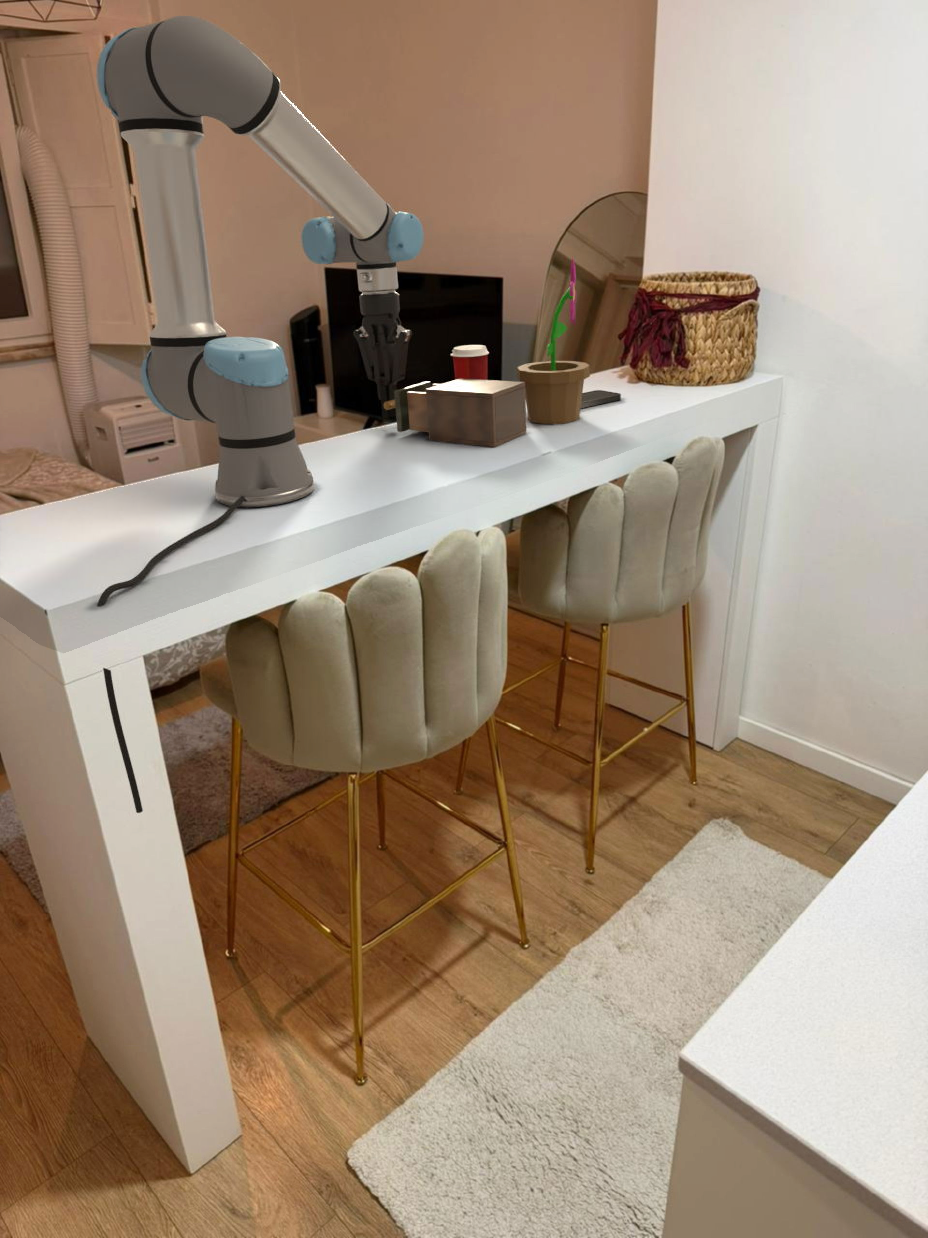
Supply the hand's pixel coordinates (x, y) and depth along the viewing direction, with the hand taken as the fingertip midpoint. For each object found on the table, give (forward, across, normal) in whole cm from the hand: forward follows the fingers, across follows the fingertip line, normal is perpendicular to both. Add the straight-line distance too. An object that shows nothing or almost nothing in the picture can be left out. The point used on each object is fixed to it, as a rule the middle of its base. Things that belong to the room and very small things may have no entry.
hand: (389, 416), depth 178 cm
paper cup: (+3, +10, +15) cm, 18 cm away
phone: (+2, +26, +35) cm, 44 cm away
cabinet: (+2, +21, 0) cm, 21 cm away
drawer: (+2, +10, 0) cm, 11 cm away
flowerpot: (+3, +27, +19) cm, 33 cm away
